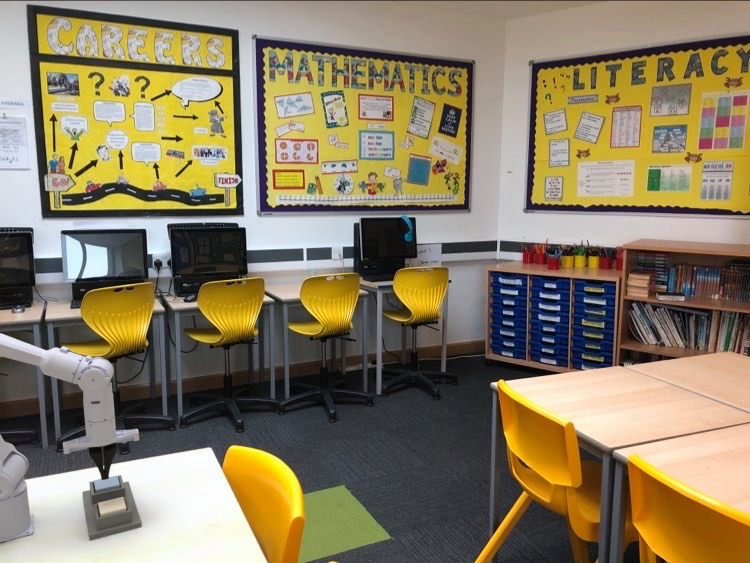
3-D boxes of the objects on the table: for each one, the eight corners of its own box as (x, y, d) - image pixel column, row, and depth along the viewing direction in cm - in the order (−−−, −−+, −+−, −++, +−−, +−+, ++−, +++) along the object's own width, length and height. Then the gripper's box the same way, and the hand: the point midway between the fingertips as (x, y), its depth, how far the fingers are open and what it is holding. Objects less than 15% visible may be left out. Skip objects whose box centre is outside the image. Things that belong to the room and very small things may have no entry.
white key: (101, 522, 128) (100, 514, 128) (98, 511, 132) (98, 502, 132) (126, 516, 130) (126, 507, 130) (123, 505, 135) (123, 496, 134)
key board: (89, 540, 126) (88, 524, 125) (82, 495, 143) (81, 481, 142) (141, 526, 130) (140, 511, 130) (128, 485, 148) (127, 471, 147)
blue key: (96, 498, 138) (95, 490, 137) (94, 488, 142) (93, 480, 142) (120, 492, 140) (119, 484, 140) (117, 483, 144) (117, 475, 144)
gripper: (134, 404, 136) (138, 462, 139) (60, 416, 129) (66, 477, 132) (138, 415, 130) (142, 476, 132) (61, 429, 123) (67, 492, 126)
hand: (104, 477), depth 132 cm, fingers closed
